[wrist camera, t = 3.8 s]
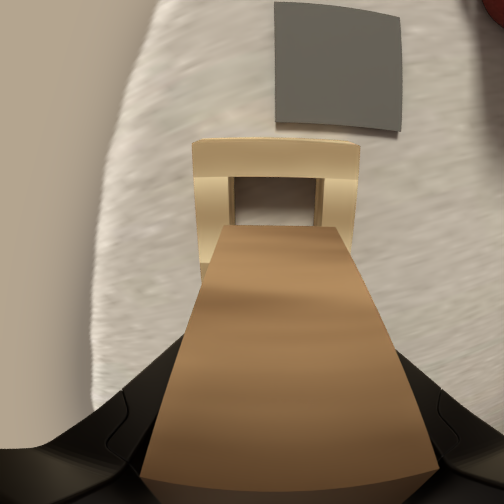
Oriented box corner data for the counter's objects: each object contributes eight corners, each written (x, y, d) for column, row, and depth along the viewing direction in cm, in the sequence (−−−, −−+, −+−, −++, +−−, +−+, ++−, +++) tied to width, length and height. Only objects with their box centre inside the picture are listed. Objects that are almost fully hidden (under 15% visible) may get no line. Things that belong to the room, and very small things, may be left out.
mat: (398, 131, 17) (401, 131, 17) (275, 121, 18) (275, 121, 17) (396, 19, 14) (399, 17, 14) (274, 4, 14) (274, 1, 14)
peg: (324, 317, 13) (362, 533, 5) (228, 316, 13) (190, 534, 5) (335, 226, 11) (439, 468, 3) (223, 225, 11) (139, 476, 3)
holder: (336, 269, 22) (344, 291, 19) (210, 267, 22) (202, 289, 20) (347, 140, 18) (360, 146, 15) (203, 138, 19) (191, 143, 16)
